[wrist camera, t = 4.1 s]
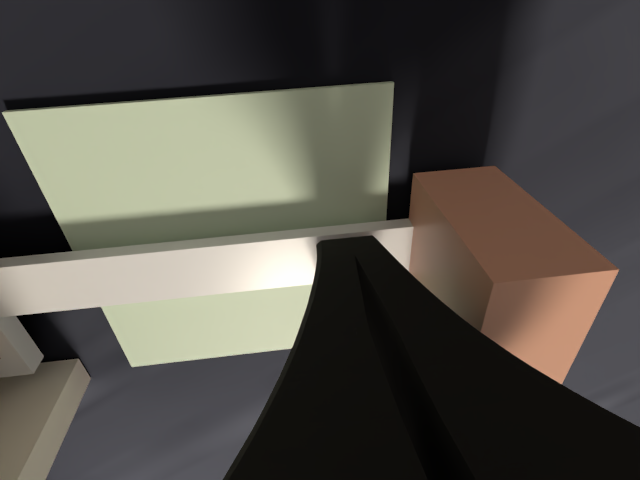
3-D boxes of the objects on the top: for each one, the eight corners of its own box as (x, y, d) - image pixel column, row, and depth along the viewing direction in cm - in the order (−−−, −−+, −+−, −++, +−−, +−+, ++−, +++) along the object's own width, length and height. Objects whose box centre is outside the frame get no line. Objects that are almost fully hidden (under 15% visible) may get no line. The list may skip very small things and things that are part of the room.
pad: (133, 363, 12) (131, 366, 12) (6, 110, 8) (1, 112, 8) (378, 334, 13) (379, 338, 13) (392, 81, 8) (394, 82, 8)
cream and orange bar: (-140, 377, 11) (-319, 550, 8) (-338, 207, 8) (-789, 375, 4) (462, 308, 12) (535, 434, 9) (501, 135, 9) (640, 228, 6)
